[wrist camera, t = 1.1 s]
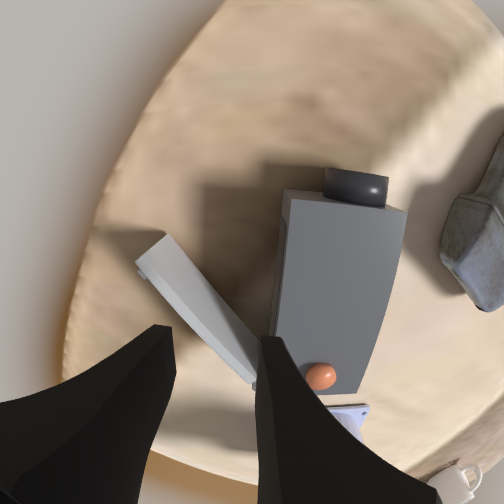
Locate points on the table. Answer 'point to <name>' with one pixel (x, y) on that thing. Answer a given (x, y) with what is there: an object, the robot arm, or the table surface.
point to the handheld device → (479, 238)
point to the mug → (455, 483)
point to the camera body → (335, 276)
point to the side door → (201, 306)
